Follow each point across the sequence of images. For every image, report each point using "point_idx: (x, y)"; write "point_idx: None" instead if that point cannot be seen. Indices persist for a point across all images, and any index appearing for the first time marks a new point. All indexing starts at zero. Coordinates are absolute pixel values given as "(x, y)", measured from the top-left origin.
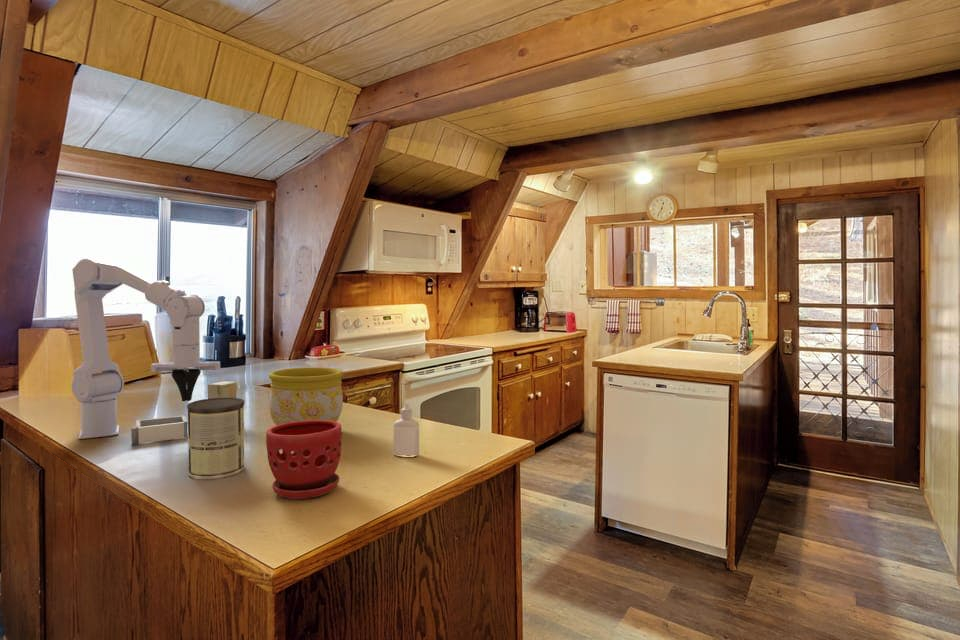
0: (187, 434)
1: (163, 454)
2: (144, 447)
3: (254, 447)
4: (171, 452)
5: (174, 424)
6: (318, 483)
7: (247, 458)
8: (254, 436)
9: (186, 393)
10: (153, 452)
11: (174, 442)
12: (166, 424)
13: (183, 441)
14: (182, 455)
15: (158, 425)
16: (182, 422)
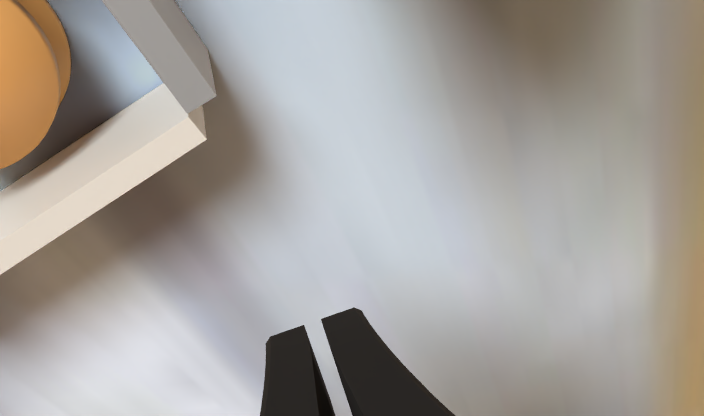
0: (208, 56)
1: None
2: (53, 303)
3: (671, 244)
4: None
5: (136, 180)
6: None
7: (644, 375)
8: (677, 22)
9: (326, 410)
10: (191, 370)
11: (187, 186)
12: (76, 217)
13: (239, 159)
14: None
15: (24, 258)
16: (190, 138)
